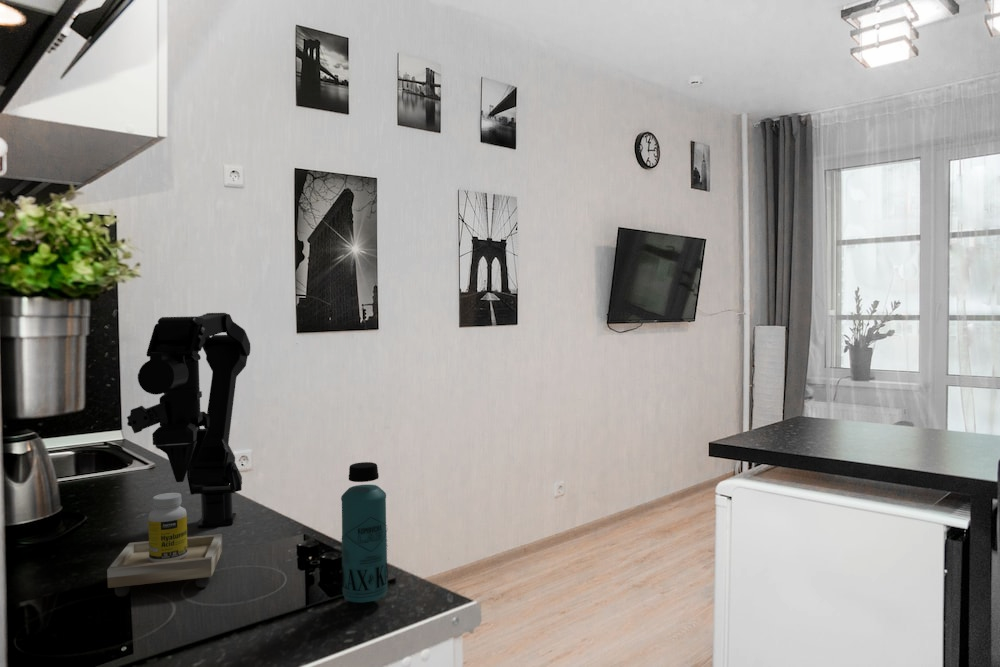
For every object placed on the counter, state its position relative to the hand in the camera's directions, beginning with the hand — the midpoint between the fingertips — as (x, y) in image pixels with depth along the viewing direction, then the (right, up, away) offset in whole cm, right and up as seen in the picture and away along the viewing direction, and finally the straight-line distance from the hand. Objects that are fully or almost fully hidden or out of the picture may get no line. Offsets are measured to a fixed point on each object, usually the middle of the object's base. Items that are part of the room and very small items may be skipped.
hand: (184, 475), depth 121 cm
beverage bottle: (+37, -13, -24) cm, 46 cm away
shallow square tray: (+4, -13, -14) cm, 20 cm away
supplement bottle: (+4, -10, -14) cm, 18 cm away
